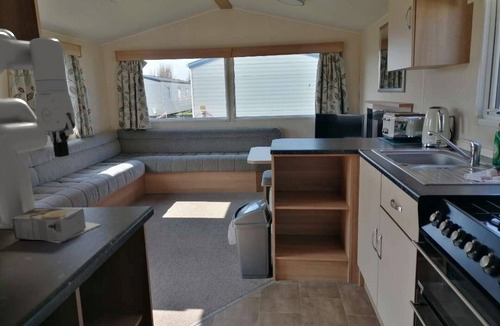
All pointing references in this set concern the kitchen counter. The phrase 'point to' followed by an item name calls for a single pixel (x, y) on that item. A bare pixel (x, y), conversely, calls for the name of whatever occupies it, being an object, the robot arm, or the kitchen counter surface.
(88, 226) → the mat
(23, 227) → the coffee box
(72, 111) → the robot arm
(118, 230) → the kitchen counter surface
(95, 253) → the kitchen counter surface
